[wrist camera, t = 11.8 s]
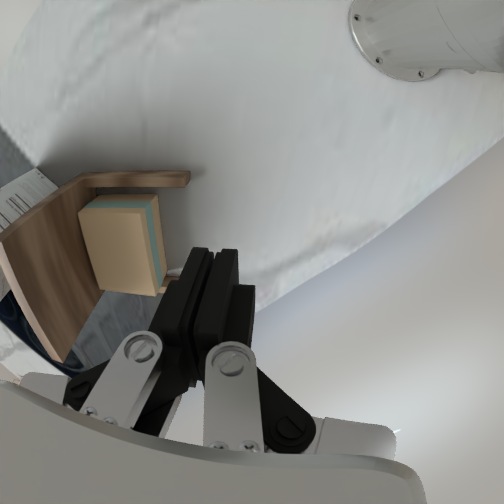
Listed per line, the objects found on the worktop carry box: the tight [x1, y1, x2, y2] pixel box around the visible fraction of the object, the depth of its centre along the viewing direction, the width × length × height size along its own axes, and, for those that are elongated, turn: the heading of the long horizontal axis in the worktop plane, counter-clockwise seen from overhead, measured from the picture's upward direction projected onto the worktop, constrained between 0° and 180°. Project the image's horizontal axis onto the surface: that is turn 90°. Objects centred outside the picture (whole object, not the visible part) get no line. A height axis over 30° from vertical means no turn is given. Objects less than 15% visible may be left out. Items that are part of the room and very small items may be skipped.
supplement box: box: [0, 168, 58, 301], centre depth 28 cm, size 10×9×17 cm
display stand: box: [0, 171, 190, 363], centre depth 30 cm, size 16×17×18 cm
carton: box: [78, 194, 168, 296], centre depth 35 cm, size 9×12×6 cm
